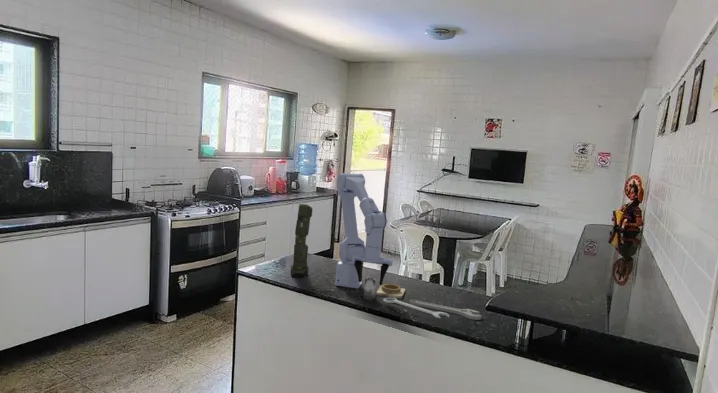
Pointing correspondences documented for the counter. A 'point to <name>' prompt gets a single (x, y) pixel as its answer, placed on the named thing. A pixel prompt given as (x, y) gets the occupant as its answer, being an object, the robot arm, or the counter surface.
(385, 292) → the socket
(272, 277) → the counter surface
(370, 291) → the clear glass cylinder
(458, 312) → the adjustable wrench
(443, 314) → the wrench
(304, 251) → the mechanical leg
